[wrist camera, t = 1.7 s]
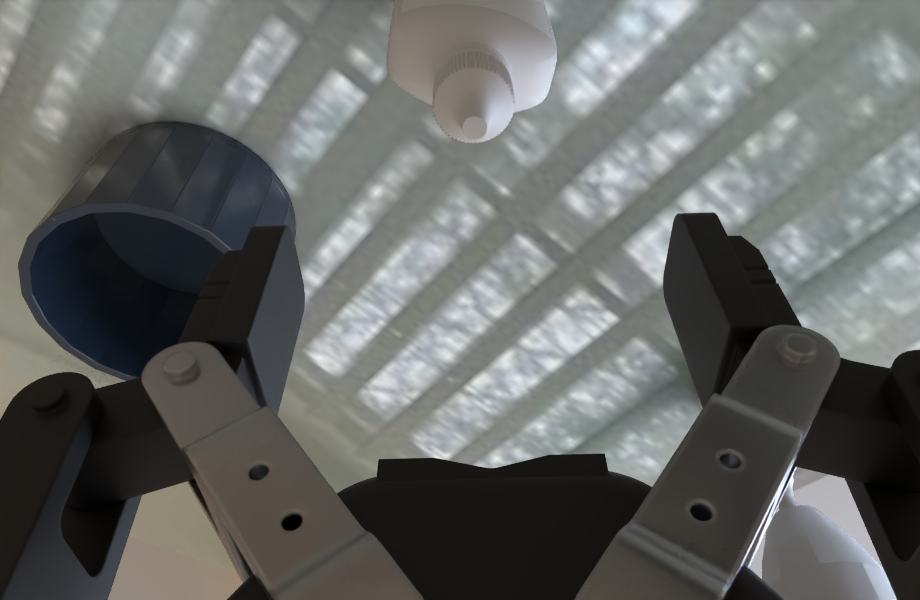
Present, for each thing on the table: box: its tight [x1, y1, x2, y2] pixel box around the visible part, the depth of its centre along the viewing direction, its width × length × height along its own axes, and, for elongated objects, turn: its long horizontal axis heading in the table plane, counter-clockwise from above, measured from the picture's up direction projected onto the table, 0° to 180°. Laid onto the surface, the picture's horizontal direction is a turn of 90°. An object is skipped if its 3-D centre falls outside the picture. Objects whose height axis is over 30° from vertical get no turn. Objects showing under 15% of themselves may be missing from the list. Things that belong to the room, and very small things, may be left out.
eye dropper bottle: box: [386, 0, 557, 143], centre depth 24 cm, size 4×6×12 cm
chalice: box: [698, 396, 897, 600], centre depth 37 cm, size 7×7×18 cm
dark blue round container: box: [18, 122, 296, 381], centre depth 33 cm, size 10×10×7 cm
